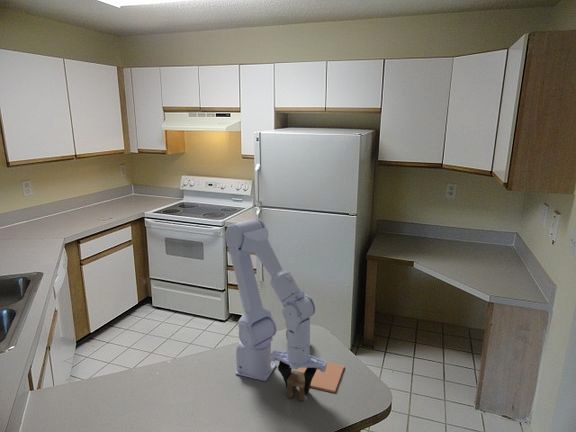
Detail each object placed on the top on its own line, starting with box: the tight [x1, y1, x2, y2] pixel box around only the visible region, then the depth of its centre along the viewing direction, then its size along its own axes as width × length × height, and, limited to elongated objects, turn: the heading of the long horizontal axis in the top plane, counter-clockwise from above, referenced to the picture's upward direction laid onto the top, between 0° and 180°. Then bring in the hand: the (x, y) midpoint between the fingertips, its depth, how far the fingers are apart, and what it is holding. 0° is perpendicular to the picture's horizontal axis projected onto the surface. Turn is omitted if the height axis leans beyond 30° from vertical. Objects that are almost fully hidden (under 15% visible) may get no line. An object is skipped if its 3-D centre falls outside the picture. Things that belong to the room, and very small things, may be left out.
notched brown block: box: [286, 369, 306, 402], centre depth 104 cm, size 4×4×5 cm
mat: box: [297, 361, 345, 393], centre depth 113 cm, size 12×12×1 cm
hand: (297, 388), depth 105 cm, fingers closed on notched brown block, 4 cm apart
